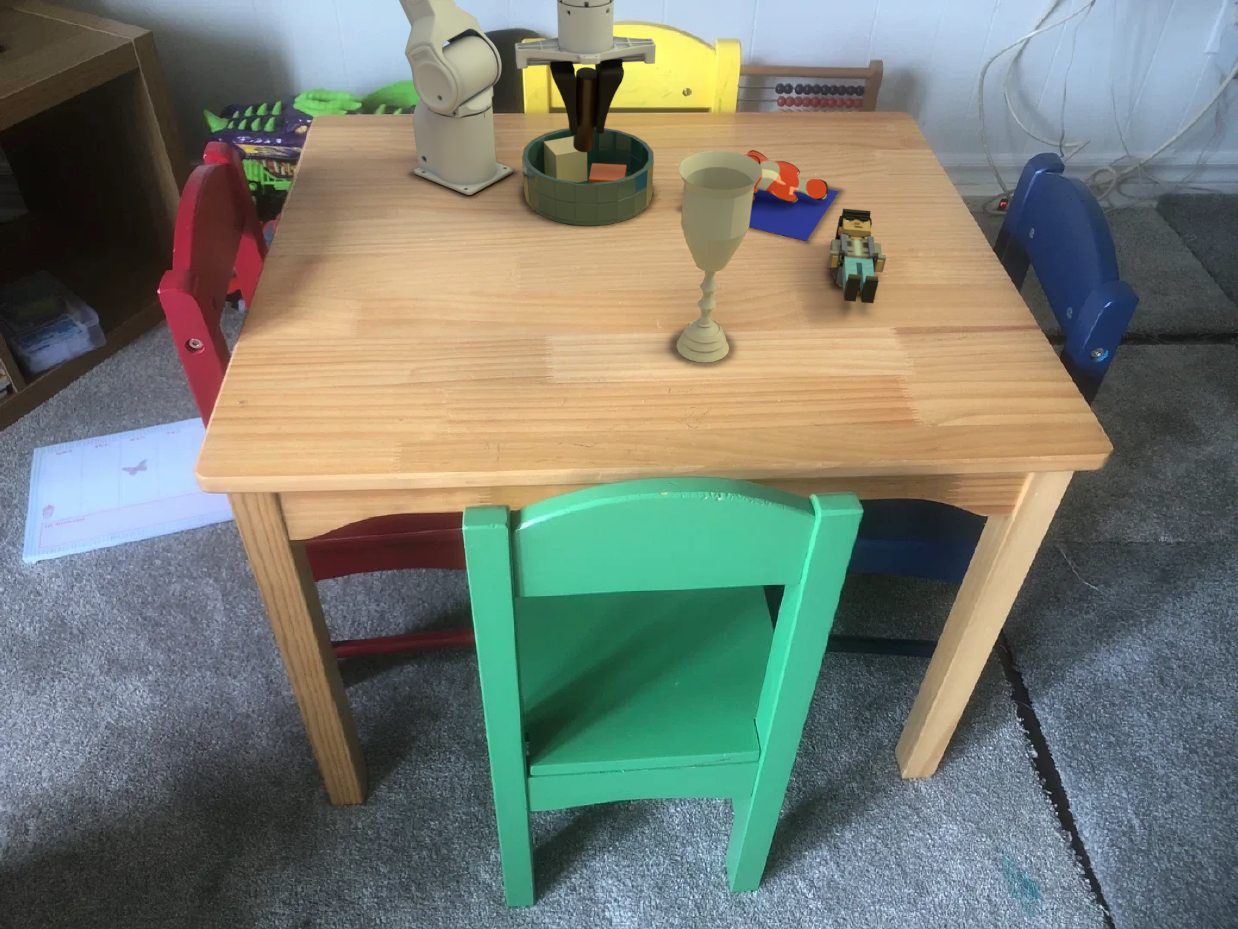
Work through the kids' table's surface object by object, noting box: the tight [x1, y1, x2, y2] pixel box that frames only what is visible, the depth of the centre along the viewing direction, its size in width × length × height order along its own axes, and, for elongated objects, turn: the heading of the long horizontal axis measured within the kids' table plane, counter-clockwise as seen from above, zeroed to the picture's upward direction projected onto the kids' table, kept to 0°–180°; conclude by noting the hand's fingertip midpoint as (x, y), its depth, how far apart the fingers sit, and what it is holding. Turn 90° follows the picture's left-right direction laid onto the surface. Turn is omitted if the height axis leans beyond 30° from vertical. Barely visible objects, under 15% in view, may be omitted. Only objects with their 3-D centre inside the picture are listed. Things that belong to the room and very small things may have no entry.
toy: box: [827, 208, 887, 304], centre depth 96 cm, size 6×4×15 cm
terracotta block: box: [589, 163, 626, 183], centre depth 106 cm, size 4×4×4 cm
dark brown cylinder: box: [573, 66, 598, 152], centre depth 101 cm, size 2×2×9 cm
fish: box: [742, 149, 830, 204], centre depth 107 cm, size 13×5×9 cm
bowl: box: [521, 127, 655, 227], centre depth 108 cm, size 15×15×5 cm
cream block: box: [544, 136, 587, 182], centre depth 111 cm, size 4×4×4 cm
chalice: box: [676, 150, 762, 363], centre depth 82 cm, size 7×7×18 cm
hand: (586, 130), depth 101 cm, fingers closed on dark brown cylinder, 2 cm apart
